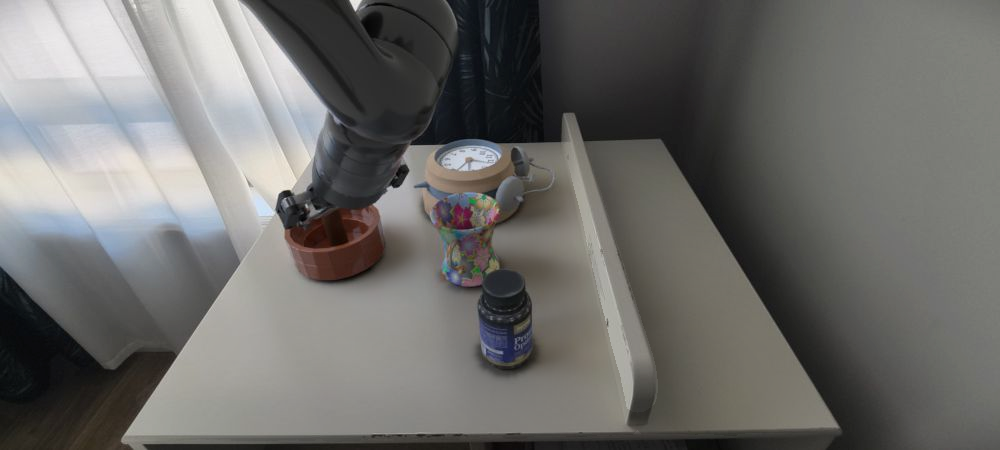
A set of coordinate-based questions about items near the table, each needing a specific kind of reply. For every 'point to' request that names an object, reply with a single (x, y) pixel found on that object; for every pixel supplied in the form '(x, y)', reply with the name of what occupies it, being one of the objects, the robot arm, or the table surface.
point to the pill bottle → (505, 319)
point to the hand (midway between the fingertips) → (337, 209)
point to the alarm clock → (478, 174)
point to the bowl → (341, 260)
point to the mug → (467, 236)
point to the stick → (335, 228)
